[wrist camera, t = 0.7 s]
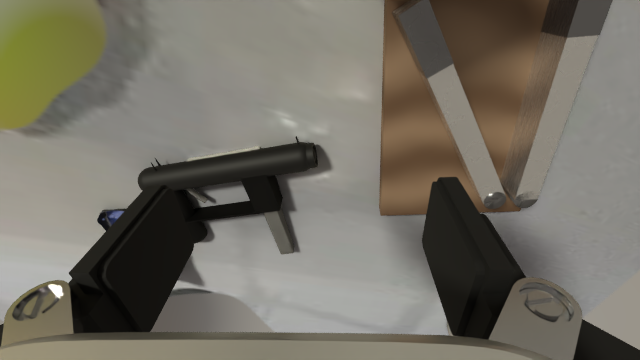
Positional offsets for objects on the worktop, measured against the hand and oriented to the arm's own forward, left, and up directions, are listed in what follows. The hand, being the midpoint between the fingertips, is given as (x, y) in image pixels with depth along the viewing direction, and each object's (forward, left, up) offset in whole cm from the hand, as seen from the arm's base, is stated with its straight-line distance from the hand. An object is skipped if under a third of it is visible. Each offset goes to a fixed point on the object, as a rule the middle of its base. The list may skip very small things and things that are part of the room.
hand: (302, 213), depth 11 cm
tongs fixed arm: (-2, -18, -19) cm, 26 cm away
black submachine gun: (-14, +11, -21) cm, 27 cm away
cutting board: (-3, -13, -20) cm, 24 cm away
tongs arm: (-3, -11, -18) cm, 22 cm away
